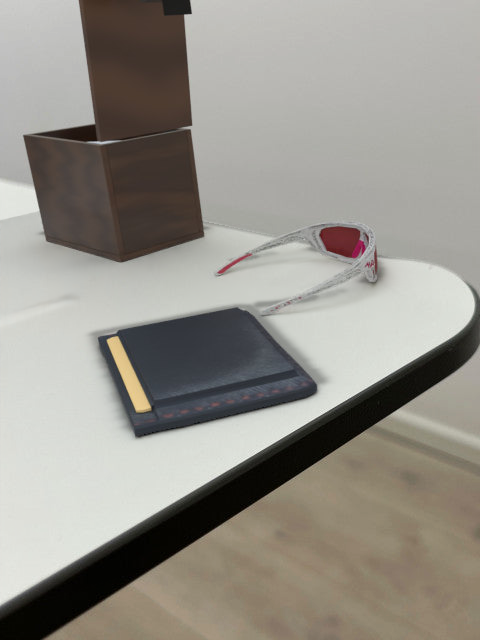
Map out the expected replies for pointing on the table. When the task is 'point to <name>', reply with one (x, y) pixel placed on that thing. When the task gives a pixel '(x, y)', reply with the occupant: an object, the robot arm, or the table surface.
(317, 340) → the table surface
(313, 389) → the wallet
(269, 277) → the table surface
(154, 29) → the lid
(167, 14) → the robot arm
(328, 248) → the sunglasses
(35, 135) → the chest
